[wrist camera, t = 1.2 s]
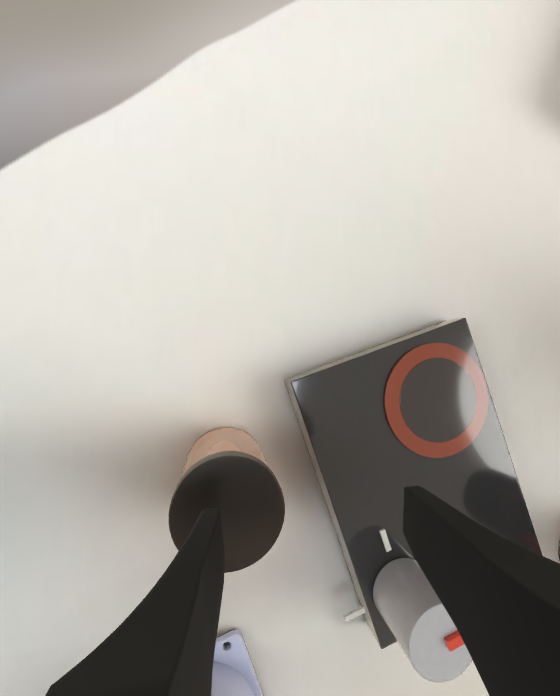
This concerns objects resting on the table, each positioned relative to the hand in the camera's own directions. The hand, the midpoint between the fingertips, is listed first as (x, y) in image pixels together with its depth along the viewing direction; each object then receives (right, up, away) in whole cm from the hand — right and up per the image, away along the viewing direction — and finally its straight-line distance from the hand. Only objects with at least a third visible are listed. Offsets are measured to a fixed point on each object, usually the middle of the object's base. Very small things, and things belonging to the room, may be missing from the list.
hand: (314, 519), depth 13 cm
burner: (+9, +3, +10) cm, 14 cm away
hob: (+8, -2, +12) cm, 14 cm away
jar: (-5, -1, +9) cm, 11 cm away
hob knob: (+6, -9, +9) cm, 14 cm away
